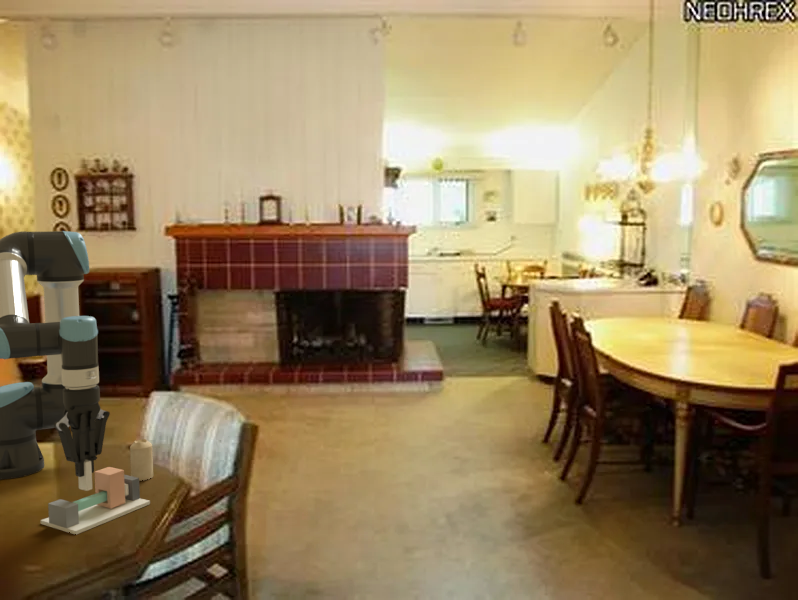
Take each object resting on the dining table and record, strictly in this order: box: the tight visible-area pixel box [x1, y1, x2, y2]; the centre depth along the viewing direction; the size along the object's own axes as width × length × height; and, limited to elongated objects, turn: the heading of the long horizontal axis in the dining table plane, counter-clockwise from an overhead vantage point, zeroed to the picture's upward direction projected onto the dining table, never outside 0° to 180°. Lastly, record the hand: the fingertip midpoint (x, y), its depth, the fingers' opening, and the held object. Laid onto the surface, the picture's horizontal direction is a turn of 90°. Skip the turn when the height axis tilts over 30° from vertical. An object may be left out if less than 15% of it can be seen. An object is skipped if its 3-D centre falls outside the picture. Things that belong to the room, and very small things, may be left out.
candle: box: [129, 438, 154, 482], centre depth 190 cm, size 6×6×10 cm
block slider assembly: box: [40, 474, 151, 535], centre depth 165 cm, size 12×20×6 cm, turn 150°
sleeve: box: [94, 466, 125, 508], centre depth 168 cm, size 5×4×8 cm
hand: (85, 488), depth 163 cm, fingers closed
